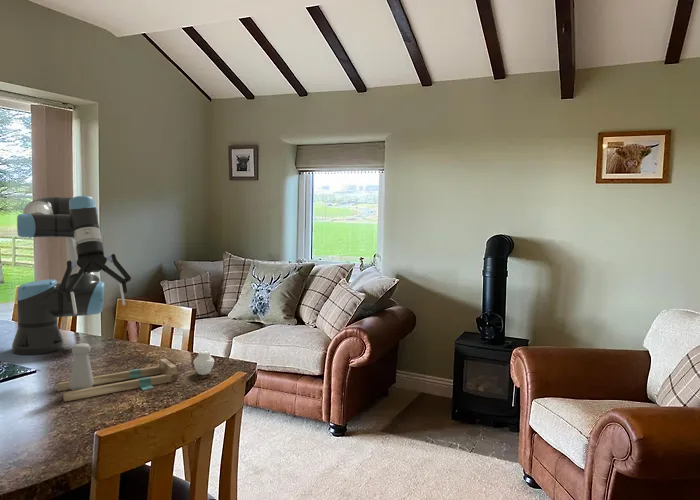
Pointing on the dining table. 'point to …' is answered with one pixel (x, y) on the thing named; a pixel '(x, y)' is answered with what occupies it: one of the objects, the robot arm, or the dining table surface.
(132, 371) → the guide rails
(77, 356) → the salt shaker
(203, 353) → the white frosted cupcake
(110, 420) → the dining table surface
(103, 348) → the dining table surface
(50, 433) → the dining table surface
